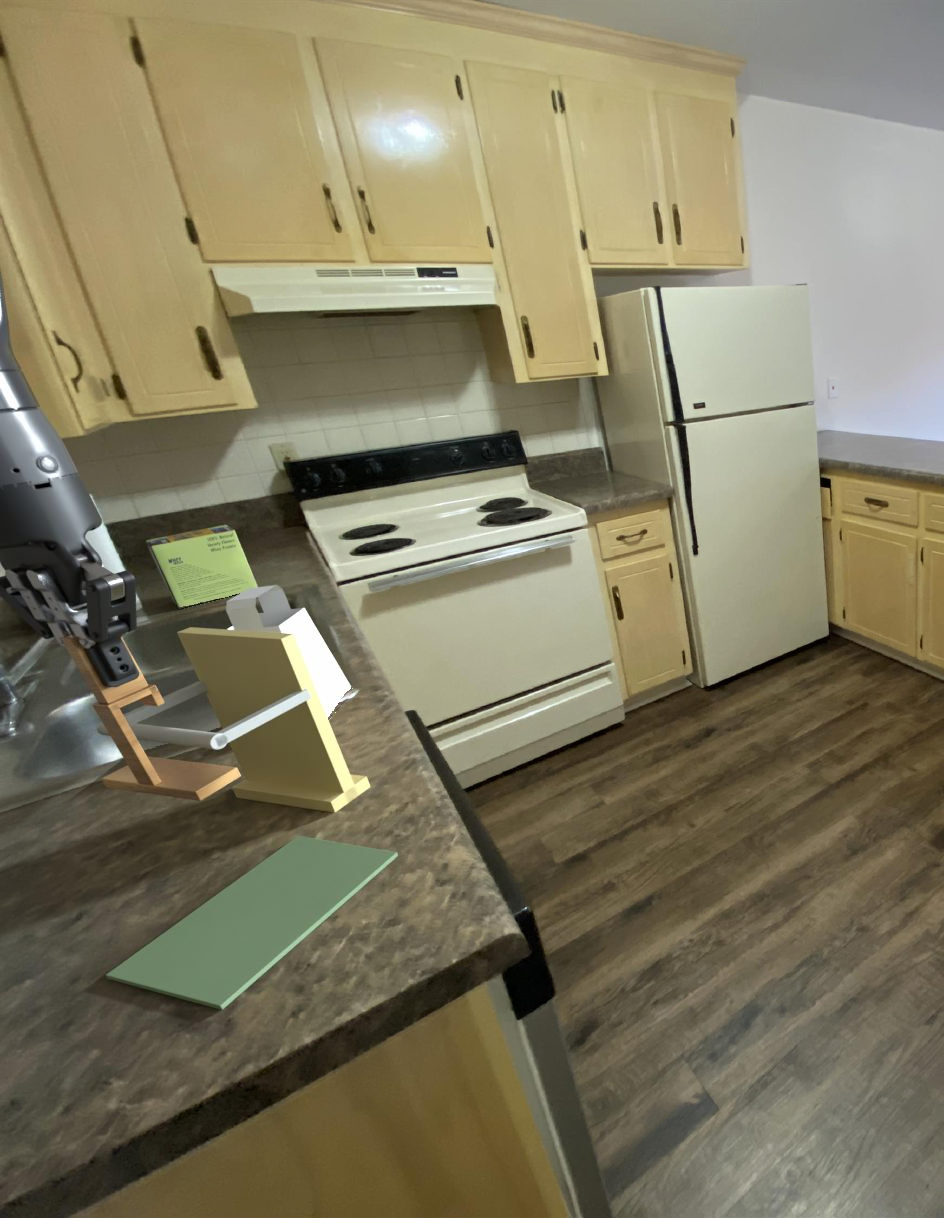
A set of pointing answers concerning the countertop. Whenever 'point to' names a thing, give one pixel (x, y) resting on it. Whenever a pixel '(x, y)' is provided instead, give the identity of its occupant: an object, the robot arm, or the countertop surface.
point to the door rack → (260, 719)
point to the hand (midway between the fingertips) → (116, 681)
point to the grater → (300, 624)
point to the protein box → (202, 565)
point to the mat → (252, 922)
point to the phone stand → (140, 768)
